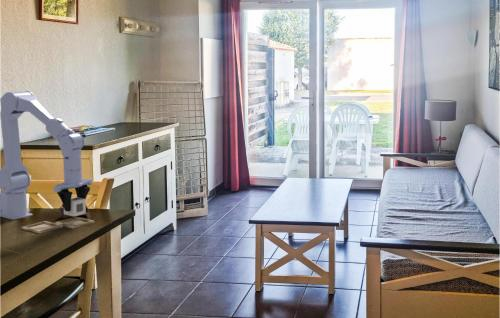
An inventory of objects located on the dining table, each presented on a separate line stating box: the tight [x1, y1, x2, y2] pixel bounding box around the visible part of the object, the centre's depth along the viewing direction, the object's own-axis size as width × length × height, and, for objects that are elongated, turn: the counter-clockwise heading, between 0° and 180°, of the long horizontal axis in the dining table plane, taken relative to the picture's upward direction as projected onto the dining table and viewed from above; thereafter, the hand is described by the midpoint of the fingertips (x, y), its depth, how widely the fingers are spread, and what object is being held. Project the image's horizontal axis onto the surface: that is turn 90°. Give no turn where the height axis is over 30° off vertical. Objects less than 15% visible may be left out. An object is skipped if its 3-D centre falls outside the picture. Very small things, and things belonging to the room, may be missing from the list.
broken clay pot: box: [58, 202, 91, 219], centre depth 220 cm, size 12×10×8 cm
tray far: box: [54, 216, 95, 230], centre depth 211 cm, size 9×9×1 cm
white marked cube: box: [64, 196, 87, 217], centre depth 210 cm, size 5×5×5 cm
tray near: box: [21, 220, 63, 234], centre depth 205 cm, size 9×9×1 cm
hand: (74, 209), depth 210 cm, fingers closed on white marked cube, 5 cm apart
